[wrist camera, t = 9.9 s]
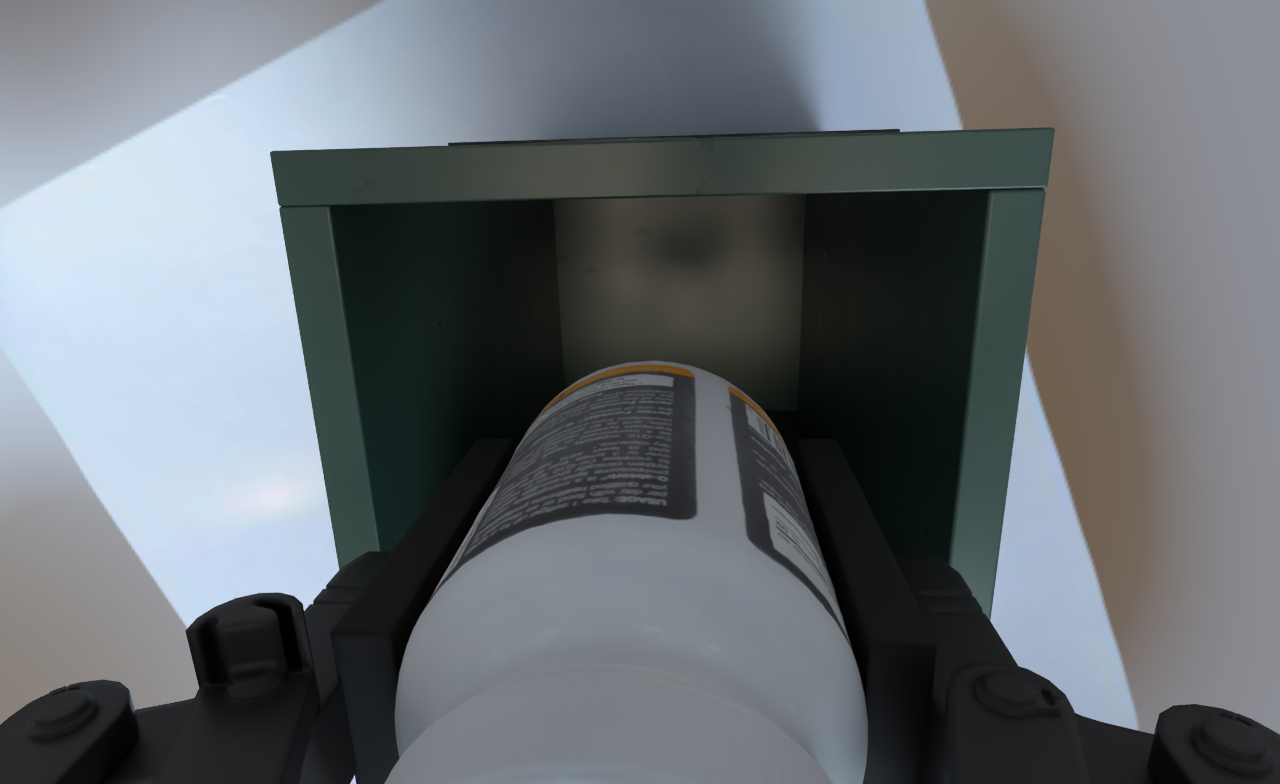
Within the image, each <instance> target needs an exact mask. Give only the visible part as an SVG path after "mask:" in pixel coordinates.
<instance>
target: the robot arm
mask: <svg viewBox="0 0 1280 784" xmlns="http://www.w3.org/2000/svg"><path fill="white" fill-rule="evenodd" d="M514 453H515V445H514V439H477V440H476V442H475V443H474V444H473V446H472V447H471V448H470V449H469V451H468V452H467V453H466V455H465V456H464V457H463V459H462V460H461V461H460V463H459V464H458V465H457V466H456V468H455V469H454V470H453V472H452V473H451V474H450V476H449V477H448V478H447V480H446V481H445V482H444V484H443V485H442V486H441V487H440V489H439V490H438V491H437V493H436V494H435V495H434V497H433V498H432V499H431V501H430V502H429V503H428V505H427V506H426V507H425V508H424V510H423V511H422V512H421V514H420V515H419V516H418V518H417V519H416V520H415V522H414V523H413V524H412V525H411V527H410V528H409V529H408V531H407V532H406V533H405V535H404V536H403V537H402V539H401V540H400V541H399V543H398V544H397V545H396V546H395V548H394V549H393V550H392V551H367V552H366V553H364V554H362V555H361V556H359V557H357V558H356V559H354V560H353V561H351V562H349V563H348V564H346V565H345V566H343V567H342V568H341V569H340V570H339V571H338V572H337V574H336V575H335V576H334V577H333V578H332V579H331V581H330V582H329V583H328V584H327V585H326V586H327V587H326V589H323V590H322V591H321V592H320V594H319V595H318V596H317V597H316V598H315V599H314V603H313V604H310V605H309V606H308V608H307V609H306V610H305V611H304V609H303V604H302V603H301V602H300V601H299V600H298V599H297V598H295V597H294V596H291V595H287V594H283V593H258V594H253V595H249V596H244V597H240V598H236V599H233V600H231V601H228V602H226V603H223V604H221V605H218V606H216V607H214V608H212V609H211V610H209V611H208V612H206V613H205V614H203V615H201V616H200V617H198V618H197V619H196V620H195V621H194V622H193V623H192V624H191V625H190V626H189V628H188V629H187V630H186V635H187V639H188V643H189V647H190V651H191V655H192V659H193V664H194V668H195V672H196V676H197V680H198V684H199V690H198V692H197V694H196V696H195V698H193V699H189V700H185V701H180V702H174V703H170V704H164V705H159V706H154V707H148V708H143V709H138V710H134V706H133V702H132V699H131V696H130V692H129V689H128V688H126V687H125V686H124V685H123V684H122V683H120V682H115V681H109V680H96V681H88V682H80V683H76V684H72V685H69V686H68V687H66V686H64V687H62V688H59V689H56V690H53V691H51V692H50V693H49V694H47V695H45V696H42V697H40V698H38V699H36V700H34V701H32V702H30V703H29V704H27V705H26V706H25V707H23V708H22V709H20V710H19V711H17V712H16V713H15V714H13V715H12V716H10V717H9V718H8V719H7V720H6V721H4V722H3V723H2V724H1V725H0V784H350V782H351V781H352V779H353V777H354V775H355V778H356V784H385V782H386V780H387V778H388V776H389V774H390V773H391V771H392V769H393V768H394V766H395V765H396V763H397V762H398V760H399V759H400V758H399V753H398V747H397V741H396V732H395V703H396V693H397V686H398V679H399V672H400V668H401V665H402V661H403V657H404V653H405V650H406V647H407V644H408V641H409V638H410V636H411V633H412V631H413V628H414V626H415V625H416V623H417V621H418V619H419V617H420V615H421V614H422V612H423V610H424V608H425V607H426V605H427V603H428V602H429V600H430V598H431V596H432V595H433V593H434V591H435V589H436V587H437V586H438V584H439V582H440V580H441V578H442V577H443V575H444V573H445V572H446V570H447V568H448V567H449V565H450V563H451V562H452V560H453V558H454V556H455V555H456V553H457V551H458V549H459V548H460V546H461V544H462V543H463V541H464V539H465V537H466V536H467V534H468V532H469V530H470V529H471V527H472V525H473V523H474V521H475V519H476V517H477V516H478V514H479V512H480V511H481V509H482V508H483V506H484V505H485V503H486V502H487V500H488V498H489V497H490V495H491V493H492V492H493V490H494V489H495V487H496V485H497V484H498V482H499V480H500V478H501V476H502V475H503V473H504V471H505V470H506V468H507V466H508V464H509V463H510V461H511V459H512V457H513V455H514ZM796 472H797V474H798V477H799V480H800V484H801V488H802V491H803V494H804V497H805V501H806V504H807V507H808V511H809V514H810V517H811V520H812V523H813V526H814V529H815V533H816V536H817V539H818V542H819V546H820V549H821V552H822V554H823V557H824V560H825V563H826V566H827V569H828V572H829V575H830V578H831V580H832V583H833V585H834V588H835V591H836V596H837V601H838V604H839V607H840V611H841V613H842V616H843V620H844V624H845V627H846V631H847V634H848V637H849V640H850V643H851V646H852V649H853V653H854V656H855V659H856V662H857V666H858V669H859V673H860V677H861V682H862V685H863V689H864V695H865V701H866V711H867V718H868V746H867V761H866V768H865V773H864V779H863V784H1280V735H1279V734H1277V733H1276V732H1274V731H1272V730H1270V729H1269V728H1267V727H1265V726H1263V725H1261V724H1260V723H1258V722H1256V721H1254V720H1252V719H1250V718H1247V717H1245V716H1242V715H1240V714H1236V713H1233V712H1231V711H1228V710H1225V709H1221V708H1215V707H1209V706H1203V705H1196V704H1191V705H1177V706H1172V707H1170V708H1169V709H1167V710H1165V711H1163V712H1162V713H1160V714H1159V718H1158V721H1157V725H1156V729H1155V733H1154V734H1149V733H1145V732H1141V731H1137V730H1133V729H1128V728H1124V727H1120V726H1116V725H1111V724H1107V723H1103V722H1100V721H1096V720H1093V719H1090V718H1086V717H1083V716H1081V715H1078V714H1076V713H1074V710H1073V708H1072V706H1071V704H1070V702H1069V701H1068V699H1067V697H1066V695H1065V694H1064V693H1063V692H1062V691H1061V690H1059V689H1058V688H1057V687H1056V686H1055V685H1054V684H1053V683H1051V682H1050V681H1049V680H1047V679H1046V678H1044V677H1042V676H1040V675H1038V674H1036V673H1034V672H1032V671H1030V670H1028V669H1025V668H1022V667H1019V666H1018V665H1017V663H1016V662H1015V660H1014V659H1013V657H1012V655H1011V654H1010V652H1009V651H1008V649H1007V647H1006V646H1005V644H1004V643H1003V641H1002V639H1001V638H1000V636H999V635H998V633H997V631H996V630H995V628H994V627H993V625H992V623H991V622H990V620H989V619H988V617H987V615H986V614H985V613H983V609H982V607H981V606H980V604H979V603H978V601H977V600H976V598H975V597H973V596H972V592H971V590H970V588H969V587H968V585H967V584H966V582H965V580H964V579H963V577H962V576H961V574H960V573H959V572H958V571H957V570H955V569H954V568H952V567H951V566H950V565H948V564H947V563H946V562H944V561H943V560H941V559H940V558H939V557H937V556H936V555H893V553H892V551H891V549H890V547H889V545H888V543H887V541H886V539H885V537H884V535H883V533H882V531H881V529H880V527H879V525H878V523H877V521H876V519H875V517H874V515H873V513H872V511H871V508H870V506H869V504H868V502H867V500H866V498H865V496H864V494H863V492H862V490H861V488H860V486H859V484H858V482H857V480H856V478H855V476H854V474H853V472H852V470H851V468H850V466H849V464H848V462H847V459H846V457H845V455H844V453H843V451H842V449H841V447H840V445H839V443H838V441H837V439H798V441H797V467H796Z"/></svg>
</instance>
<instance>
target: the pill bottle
mask: <svg viewBox="0 0 1280 784" xmlns="http://www.w3.org/2000/svg"><path fill="white" fill-rule="evenodd" d="M395 732H396V741H397V747H398V753H399V758H400V759H399V760H398V762H397V763H396V765H395V766H394V768H393V769H392V771H391V773H390V774H389V776H388V778H387V780H386V782H385V784H863V779H864V773H865V768H866V761H867V746H868V718H867V711H866V701H865V695H864V689H863V685H862V682H861V677H860V673H859V669H858V666H857V662H856V659H855V656H854V653H853V649H852V646H851V643H850V640H849V637H848V634H847V631H846V627H845V624H844V620H843V616H842V613H841V611H840V607H839V604H838V601H837V596H836V591H835V588H834V585H833V583H832V580H831V578H830V575H829V572H828V569H827V566H826V563H825V560H824V557H823V554H822V552H821V549H820V546H819V542H818V539H817V536H816V533H815V529H814V526H813V523H812V520H811V517H810V514H809V511H808V507H807V504H806V501H805V497H804V494H803V491H802V488H801V484H800V480H799V477H798V474H797V472H796V469H795V466H794V462H793V460H792V458H791V456H790V454H789V452H788V450H787V447H786V445H785V443H784V441H783V439H782V437H781V435H780V433H779V432H778V430H777V428H776V427H775V425H774V424H773V422H772V421H771V420H770V418H769V417H768V416H767V414H766V413H765V412H764V411H763V410H762V408H761V407H760V406H759V405H757V404H756V403H755V402H754V401H753V400H752V399H751V398H750V397H748V396H747V395H746V394H745V393H744V392H743V391H741V390H740V389H738V388H737V387H735V386H734V385H733V384H731V383H730V382H728V381H727V380H725V379H723V378H721V377H719V376H717V375H714V374H712V373H710V372H708V371H705V370H702V369H699V368H696V367H693V366H690V365H683V364H679V363H675V362H663V361H642V362H629V363H624V364H620V365H616V366H611V367H608V368H605V369H601V370H598V371H596V372H594V373H592V374H590V375H588V376H586V377H584V378H581V379H579V380H578V381H576V382H575V383H573V384H572V385H570V386H569V387H568V388H566V389H565V390H563V391H562V392H561V393H559V394H558V395H557V396H556V397H555V398H554V399H553V400H552V401H551V402H550V403H549V404H548V405H547V406H546V407H545V408H544V409H543V411H542V412H541V413H540V414H539V416H538V417H537V418H536V419H535V421H534V422H533V423H532V425H531V426H530V428H529V429H528V431H527V432H526V434H525V435H524V437H523V439H522V441H521V442H520V444H519V445H518V447H517V449H516V451H515V453H514V455H513V457H512V459H511V461H510V463H509V464H508V466H507V468H506V470H505V471H504V473H503V475H502V476H501V478H500V480H499V482H498V484H497V485H496V487H495V489H494V490H493V492H492V493H491V495H490V497H489V498H488V500H487V502H486V503H485V505H484V506H483V508H482V509H481V511H480V512H479V514H478V516H477V517H476V519H475V521H474V523H473V525H472V527H471V529H470V530H469V532H468V534H467V536H466V537H465V539H464V541H463V543H462V544H461V546H460V548H459V549H458V551H457V553H456V555H455V556H454V558H453V560H452V562H451V563H450V565H449V567H448V568H447V570H446V572H445V573H444V575H443V577H442V578H441V580H440V582H439V584H438V586H437V587H436V589H435V591H434V593H433V595H432V596H431V598H430V600H429V602H428V603H427V605H426V607H425V608H424V610H423V612H422V614H421V615H420V617H419V619H418V621H417V623H416V625H415V626H414V628H413V631H412V633H411V636H410V638H409V641H408V644H407V647H406V650H405V653H404V657H403V661H402V665H401V668H400V672H399V679H398V686H397V693H396V703H395Z"/></svg>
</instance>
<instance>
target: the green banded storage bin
mask: <svg viewBox="0 0 1280 784" xmlns="http://www.w3.org/2000/svg"><path fill="white" fill-rule="evenodd" d="M1054 131H1055V130H1054V128H1019V129H985V130H952V131H919V132H900V129H884V130H851V131H819V132H786V133H753V134H721V135H688V136H655V137H623V138H590V139H557V140H524V141H492V142H459V143H448V146H424V147H391V148H358V149H325V150H292V151H272V152H270V156H271V162H272V168H273V174H274V180H275V186H276V192H277V198H278V204H279V206H282V207H280V209H279V210H280V216H281V222H282V228H283V234H284V240H285V246H286V252H287V258H288V264H289V270H290V276H291V282H292V288H293V294H294V300H295V306H296V312H297V318H298V324H299V330H300V336H301V342H302V348H303V354H304V360H305V366H306V372H307V378H308V384H309V390H310V396H311V402H312V408H313V414H314V420H315V426H316V432H317V438H318V444H319V450H320V456H321V462H322V468H323V474H324V480H325V486H326V492H327V498H328V504H329V510H330V516H331V522H332V528H333V534H334V540H335V546H336V552H337V558H338V564H339V570H340V569H341V568H342V567H343V566H345V565H346V564H348V563H349V562H351V561H353V560H354V559H356V558H357V557H359V556H361V555H362V554H364V553H366V552H367V551H392V550H393V549H394V548H395V546H396V545H397V544H398V543H399V541H400V540H401V539H402V537H403V536H404V535H405V533H406V532H407V531H408V529H409V528H410V527H411V525H412V524H413V523H414V522H415V520H416V519H417V518H418V516H419V515H420V514H421V512H422V511H423V510H424V508H425V507H426V506H427V505H428V503H429V502H430V501H431V499H432V498H433V497H434V495H435V494H436V493H437V491H438V490H439V489H440V487H441V486H442V485H443V484H444V482H445V481H446V480H447V478H448V477H449V476H450V474H451V473H452V472H453V470H454V469H455V468H456V466H457V465H458V464H459V463H460V461H461V460H462V459H463V457H464V456H465V455H466V453H467V452H468V451H469V449H470V448H471V447H472V446H473V444H474V443H475V442H476V440H477V439H514V445H515V451H516V449H517V447H518V445H519V444H520V442H521V441H522V439H523V437H524V435H525V434H526V432H527V431H528V429H529V428H530V426H531V425H532V423H533V422H534V421H535V419H536V418H537V417H538V416H539V414H540V413H541V412H542V411H543V409H544V408H545V407H546V406H547V405H548V404H549V403H550V402H551V401H552V400H553V399H554V398H555V397H556V396H557V395H558V394H559V393H561V392H562V391H563V390H565V389H566V388H568V387H569V386H570V385H572V384H573V383H575V382H576V381H578V380H579V379H581V378H584V377H586V376H588V375H590V374H592V373H594V372H596V371H598V370H601V369H605V368H608V367H611V366H616V365H620V364H624V363H629V362H642V361H663V362H675V363H679V364H683V365H690V366H693V367H696V368H699V369H702V370H705V371H708V372H710V373H712V374H714V375H717V376H719V377H721V378H723V379H725V380H727V381H728V382H730V383H731V384H733V385H734V386H735V387H737V388H738V389H740V390H741V391H743V392H744V393H745V394H746V395H747V396H748V397H750V398H751V399H752V400H753V401H754V402H755V403H756V404H757V405H759V406H760V407H761V408H762V410H763V411H764V412H765V413H766V414H767V416H768V417H769V418H770V420H771V421H772V422H773V424H774V425H775V427H776V428H777V430H778V432H779V433H780V435H781V437H782V439H783V441H784V443H785V445H786V447H787V450H788V452H789V454H790V456H791V458H792V460H793V462H794V466H795V469H796V467H797V441H798V439H837V441H838V443H839V445H840V447H841V449H842V451H843V453H844V455H845V457H846V459H847V462H848V464H849V466H850V468H851V470H852V472H853V474H854V476H855V478H856V480H857V482H858V484H859V486H860V488H861V490H862V492H863V494H864V496H865V498H866V500H867V502H868V504H869V506H870V508H871V511H872V513H873V515H874V517H875V519H876V521H877V523H878V525H879V527H880V529H881V531H882V533H883V535H884V537H885V539H886V541H887V543H888V545H889V547H890V549H891V551H892V553H893V555H936V556H937V557H939V558H940V559H941V560H943V561H944V562H946V563H947V564H948V565H950V566H951V567H952V568H954V569H955V570H957V571H958V572H959V573H960V574H961V576H962V577H963V579H964V580H965V582H966V584H967V585H968V587H969V588H970V590H971V592H972V596H973V597H975V598H976V600H977V601H978V603H979V604H980V606H981V607H982V609H983V613H985V614H986V615H987V617H988V619H989V620H990V618H991V610H992V602H993V595H994V587H995V579H996V572H997V564H998V556H999V549H1000V541H1001V533H1002V525H1003V518H1004V510H1005V502H1006V495H1007V487H1008V479H1009V471H1010V464H1011V456H1012V448H1013V441H1014V433H1015V425H1016V417H1017V410H1018V402H1019V394H1020V387H1021V379H1022V371H1023V364H1024V356H1025V348H1026V340H1027V333H1028V325H1029V317H1030V309H1031V302H1032V294H1033V286H1034V278H1035V271H1036V263H1037V256H1038V248H1039V240H1040V232H1041V225H1042V216H1043V208H1044V202H1045V193H1046V192H1045V189H1043V188H1045V187H1047V185H1048V177H1049V169H1050V161H1051V154H1052V146H1053V139H1054Z"/></svg>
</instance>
